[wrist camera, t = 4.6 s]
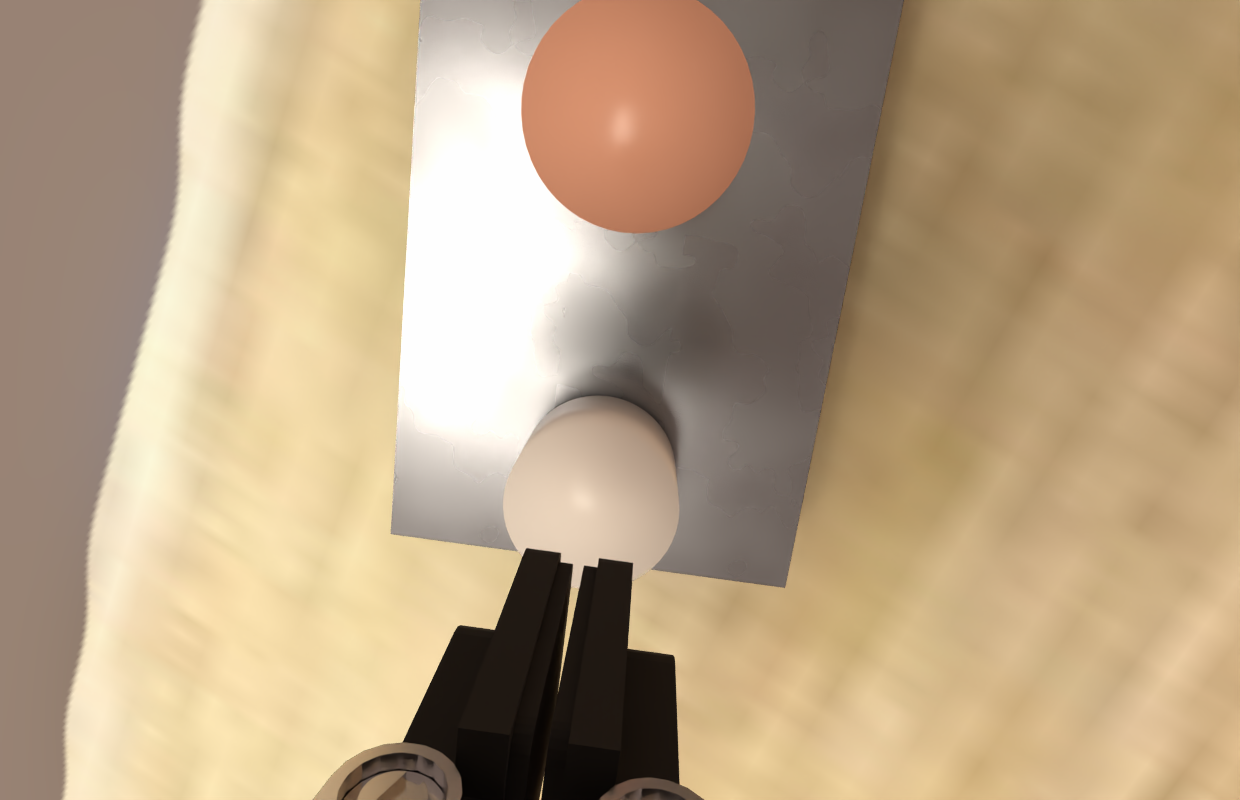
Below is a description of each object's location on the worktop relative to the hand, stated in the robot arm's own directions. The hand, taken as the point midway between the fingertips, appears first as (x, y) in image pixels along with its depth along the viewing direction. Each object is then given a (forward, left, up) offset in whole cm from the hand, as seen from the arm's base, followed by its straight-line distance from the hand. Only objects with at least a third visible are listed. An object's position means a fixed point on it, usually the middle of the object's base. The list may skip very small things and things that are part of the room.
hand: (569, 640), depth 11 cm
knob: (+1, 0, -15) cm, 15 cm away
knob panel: (-8, 0, -15) cm, 17 cm away
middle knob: (-8, 0, -13) cm, 15 cm away
